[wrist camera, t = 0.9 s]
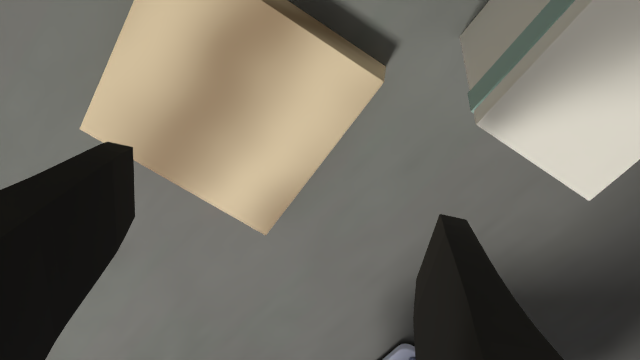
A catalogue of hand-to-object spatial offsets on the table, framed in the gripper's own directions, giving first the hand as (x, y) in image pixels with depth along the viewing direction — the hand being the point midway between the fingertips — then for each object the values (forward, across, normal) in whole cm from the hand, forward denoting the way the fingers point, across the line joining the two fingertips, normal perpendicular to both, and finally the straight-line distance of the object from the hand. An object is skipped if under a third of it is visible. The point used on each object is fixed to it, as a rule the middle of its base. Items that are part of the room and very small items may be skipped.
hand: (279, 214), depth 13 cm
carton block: (+10, -7, -4) cm, 13 cm away
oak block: (+11, +4, +2) cm, 12 cm away
